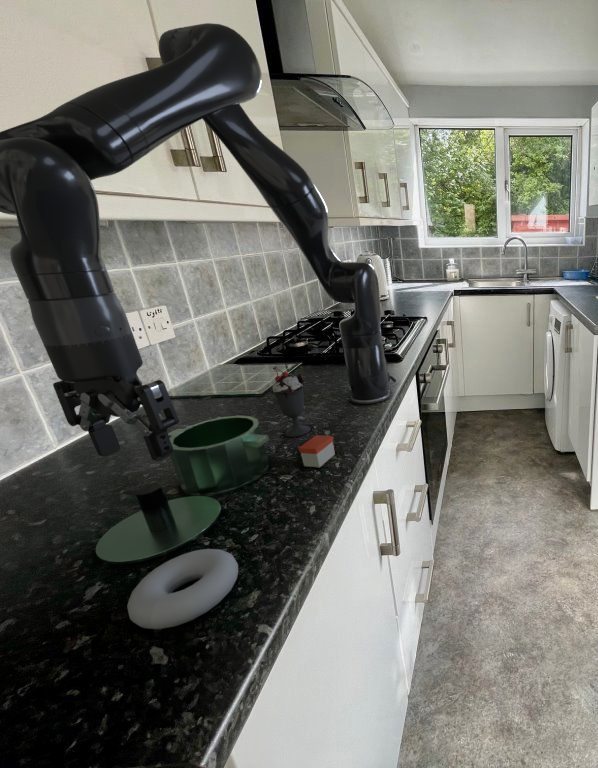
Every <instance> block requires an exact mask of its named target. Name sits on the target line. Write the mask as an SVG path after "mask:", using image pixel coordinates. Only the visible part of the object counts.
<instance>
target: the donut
mask: <svg viewBox="0 0 598 768" xmlns="http://www.w3.org/2000/svg"><path fill="white" fill-rule="evenodd" d="M238 575H239V563H238V562H237V560H236V558H235V557H234V555H233V554H231V553H230V552H227V551H226V550H223V549H217V548H204V549H203V548H202V549H197V550H193V551H189V552H186V553H183V554H181V555H178V556H176V557H174V558H171V559H169V560H167V561H165V562H164V563H162V564H160V565H159V566H157V567H156V568H154V569H153V570H152V571H150V572H149V573H148V574H146V575H145V576H144V577H143V578H142V579H141V580H140V581H139V583H138V584H137V585H136V587H135V588H133V590H132V591H131V594H130V597H129V599H128V602H127V605H126V609H127V613H128V616H129V620H130V621H131V622H132V623H134V624H135V625H136V626H139V627H140V628H143V629H148V630H162V629H168V628H174V627H179V626H180V625H183V624H186V623H188V622H192V621H193V620H195V619H197V618H198V617H199V618H200V616H202V615H204V614H206V613H208V612H210V610H212V609H213V608H214V607H216V606H217V605H218V604H220V602H221V601H222V600H224V598H226V596H227V595H228V594H229V593H230V592H231V591H232V589H233V588H234V585H235V584H236V581H237V580H238ZM193 581H196V582H194V583H193V584H192V585H190V586H188V587H186V588H184V589H181V590H179V591H176V590H178V589H179V588H181V587H182V586H184V585H187V584H188V583H191V582H193Z"/></svg>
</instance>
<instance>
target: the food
mask: <svg viewBox="0 0 598 768" xmlns="http://www.w3.org/2000/svg"><path fill="white" fill-rule="evenodd" d="M334 447H335V446H334V437H333V435H321V434H316V435H315V436H313V437H311V438H310V439H309V440H307V441H306V442H305V443H303V444H302V445H301V446H299V447H298V451H299V453H300V455H301V459H302V460H301V461H302V464H303V467H307V468H309V467H310V468H321V467H322V466H323V465H324V464H325V463H327V462H328V461H330V460H331V459H332V458H333V457H334V456H335V455H336V453H335V448H334Z"/></svg>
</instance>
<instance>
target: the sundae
mask: <svg viewBox="0 0 598 768" xmlns="http://www.w3.org/2000/svg"><path fill="white" fill-rule="evenodd" d="M272 369H273V370H275V372H276V377H274V380H275V382H274V383H273V385H272V387H270V388H269V393H270V394H271V395H274V396H275V398H276V401H277V404H278V405H279V408H280V411H281V412H282V414H283V415H285V416H286V417H288V418H291V420H292V427H291V428H289V429H287V430H286V431H285V433H284V435H285V436H287V437H288V438H289V437H290V438H295V437H300V436H303V435H306V434H308V433H310V431H311V429H312V428H311V427H310V426H308V425H301V423H300V419H299V416H300V415H301V414H302V413H303V411H304V410H305V398H304V397H305V396H304V388H305V387H306V385H307V383H305V382H304V381H305V379H304V376H303V375H302V373H299V374H298V375H297V376H296V375H294V374H292V373H288V372H287V371H282V370H280V369H279V368H278V367H277V366H274V367H272ZM278 371H279V372H281V375H279V372H278Z"/></svg>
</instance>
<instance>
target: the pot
mask: <svg viewBox="0 0 598 768" xmlns="http://www.w3.org/2000/svg"><path fill="white" fill-rule="evenodd" d="M167 433H168V436H169V439H170V442H171V445H172V447H173V453H172V455H171V456H169V457H170V460H171V462H172V466H173V468H174V471H175V474H176V476H177V479H178V482H179V485H180V488H181V489H182V491H183V492H184V493H185V495H188V496H206V497H215V496H220V495H224V494H225V495H226V494H229V493H232V492H235V491H237V490H240V489H242V488H244V487H247V486H249V485H251V484H252V483H255V482H256V481H258V480H259V479H261V478H262V477H263V476H264V475H265V474H266V473H267V471H268V470H269V468H270V461H269V457H268V454H267V450H266V446H265V444H266V443H268V442H269V441H270V438H269V435H268V434H267V435H266V434H262V431H261V426H260V423H259V419H258V418H256V417H254V416H249V415H231V416H230V415H229V416H221V417H217V418H212V419H208V420H204V421H200V422H198V423H195V424H191V425H189V426H187V427H184V428H176V429H174V430H172V431H169V432H167Z"/></svg>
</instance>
